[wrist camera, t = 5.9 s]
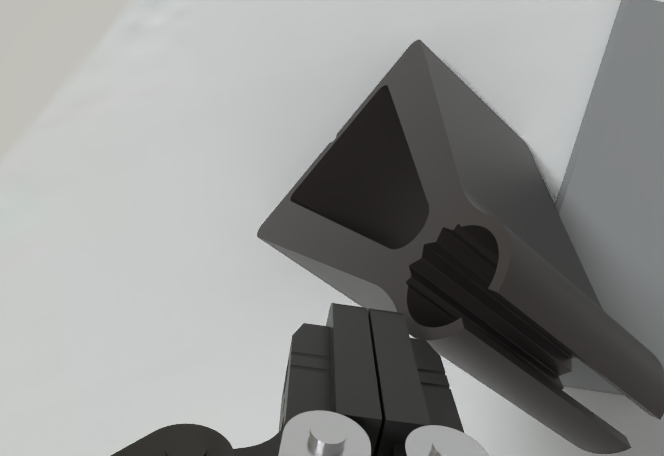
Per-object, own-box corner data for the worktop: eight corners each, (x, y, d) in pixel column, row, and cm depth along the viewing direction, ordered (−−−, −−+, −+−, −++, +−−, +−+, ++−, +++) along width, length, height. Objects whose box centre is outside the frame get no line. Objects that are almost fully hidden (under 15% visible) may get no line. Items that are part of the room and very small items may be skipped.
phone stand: (416, 37, 22) (656, 122, 11) (520, 140, 24) (797, 291, 13) (254, 230, 23) (325, 472, 12) (368, 308, 26) (509, 564, 15)
